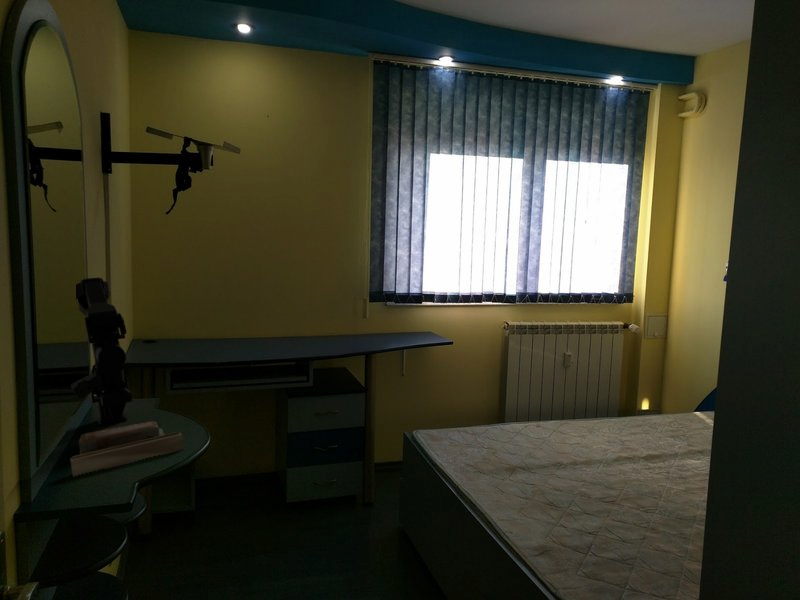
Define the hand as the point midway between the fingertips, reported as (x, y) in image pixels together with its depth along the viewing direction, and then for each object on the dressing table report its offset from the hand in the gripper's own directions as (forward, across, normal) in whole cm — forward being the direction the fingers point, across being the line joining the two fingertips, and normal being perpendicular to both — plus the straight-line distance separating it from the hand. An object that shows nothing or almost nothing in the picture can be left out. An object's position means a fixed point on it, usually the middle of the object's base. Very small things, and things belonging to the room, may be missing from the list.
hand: (116, 423), depth 143 cm
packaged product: (+3, +10, 0) cm, 10 cm away
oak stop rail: (+3, +20, 0) cm, 20 cm away
